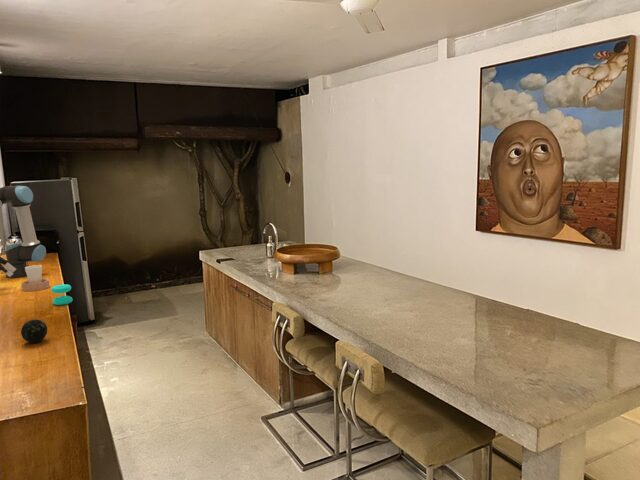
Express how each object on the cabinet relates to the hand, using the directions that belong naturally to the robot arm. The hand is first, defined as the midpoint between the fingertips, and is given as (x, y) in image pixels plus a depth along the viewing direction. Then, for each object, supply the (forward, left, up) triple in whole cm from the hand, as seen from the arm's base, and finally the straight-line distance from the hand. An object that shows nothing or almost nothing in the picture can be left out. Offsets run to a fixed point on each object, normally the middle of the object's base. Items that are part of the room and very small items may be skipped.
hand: (13, 273), depth 310 cm
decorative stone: (+115, +23, -11) cm, 118 cm away
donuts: (+50, +30, -11) cm, 59 cm away
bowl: (+2, +12, -11) cm, 16 cm away
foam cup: (+2, +12, -10) cm, 15 cm away
